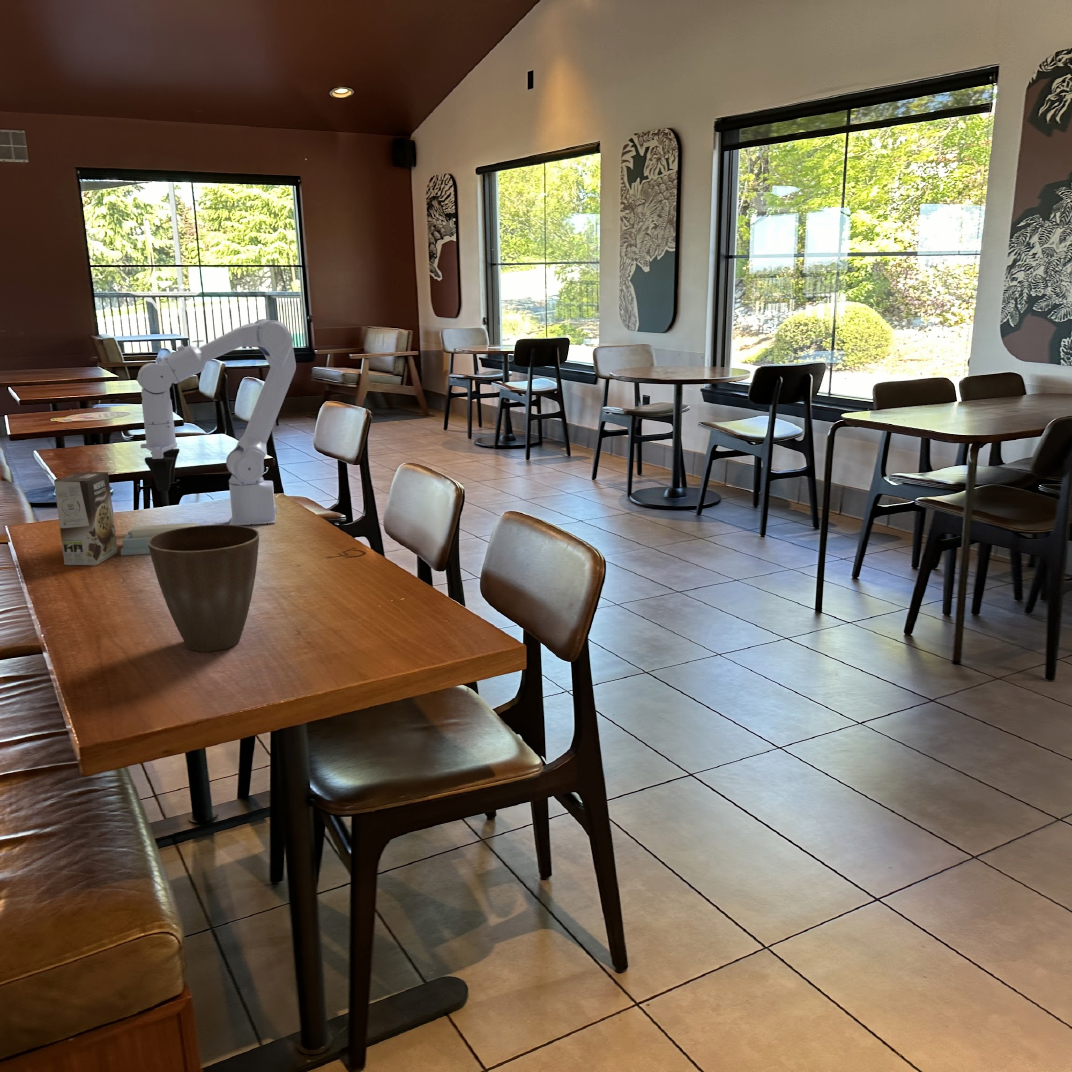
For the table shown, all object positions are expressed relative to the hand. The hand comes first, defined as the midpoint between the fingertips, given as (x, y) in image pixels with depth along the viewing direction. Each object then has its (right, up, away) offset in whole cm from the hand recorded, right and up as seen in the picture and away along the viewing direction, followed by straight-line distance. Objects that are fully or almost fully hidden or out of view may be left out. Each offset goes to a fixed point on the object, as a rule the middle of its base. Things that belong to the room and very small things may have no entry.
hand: (165, 487), depth 200 cm
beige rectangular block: (+4, -11, -10) cm, 16 cm away
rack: (+4, -12, -10) cm, 16 cm away
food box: (-7, -15, -18) cm, 24 cm away
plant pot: (+31, -26, -61) cm, 73 cm away
